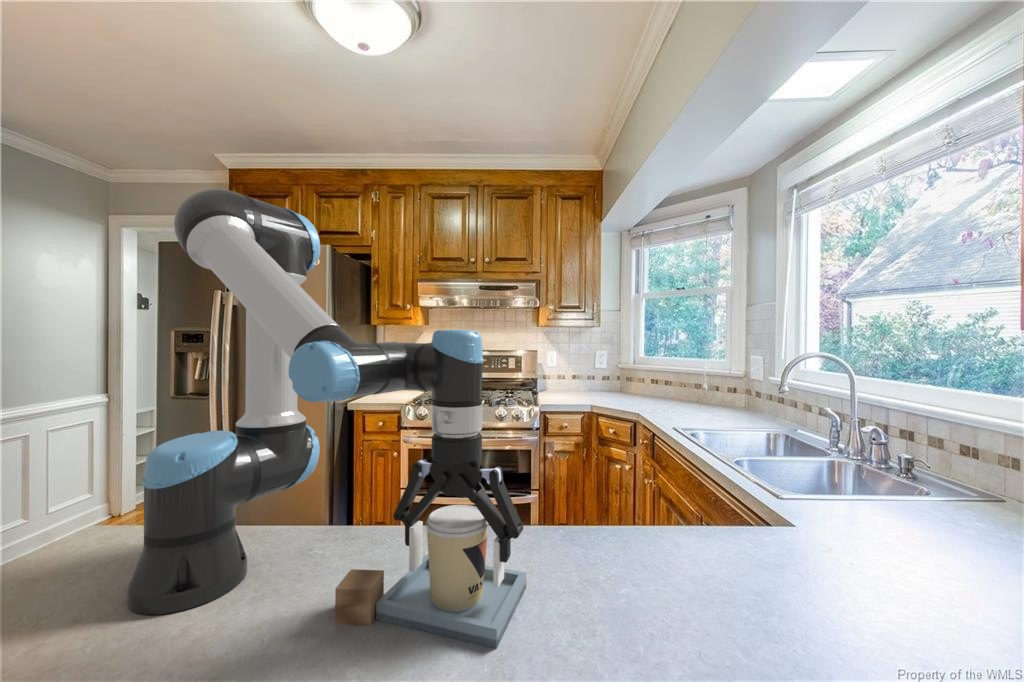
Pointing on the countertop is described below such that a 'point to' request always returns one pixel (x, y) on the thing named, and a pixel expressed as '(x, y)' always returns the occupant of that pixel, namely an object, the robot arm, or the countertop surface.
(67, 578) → the countertop surface
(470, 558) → the coffee cup
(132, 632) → the countertop surface
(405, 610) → the collection tray
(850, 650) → the countertop surface
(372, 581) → the walnut block
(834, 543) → the countertop surface
